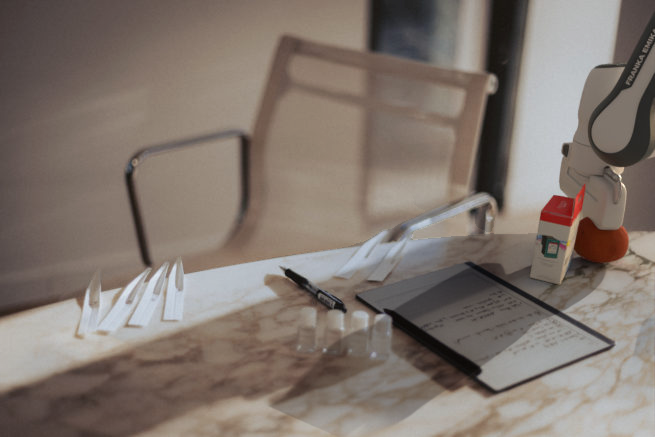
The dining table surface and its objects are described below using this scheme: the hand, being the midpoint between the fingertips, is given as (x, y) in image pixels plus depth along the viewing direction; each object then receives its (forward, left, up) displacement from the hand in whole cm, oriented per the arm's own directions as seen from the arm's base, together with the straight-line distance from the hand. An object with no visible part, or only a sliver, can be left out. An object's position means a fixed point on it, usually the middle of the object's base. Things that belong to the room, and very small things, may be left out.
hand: (581, 232), depth 111 cm
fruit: (0, +7, -2) cm, 7 cm away
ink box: (+9, +11, -2) cm, 15 cm away
